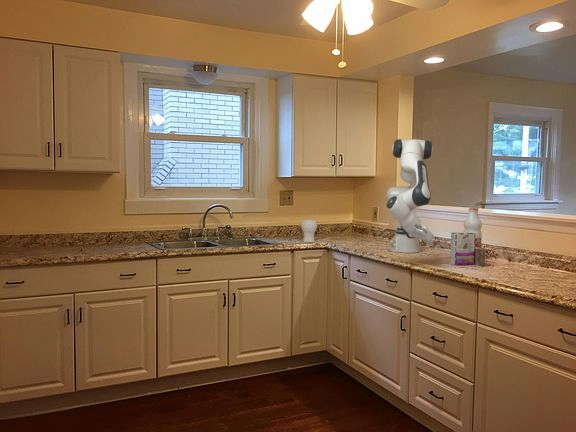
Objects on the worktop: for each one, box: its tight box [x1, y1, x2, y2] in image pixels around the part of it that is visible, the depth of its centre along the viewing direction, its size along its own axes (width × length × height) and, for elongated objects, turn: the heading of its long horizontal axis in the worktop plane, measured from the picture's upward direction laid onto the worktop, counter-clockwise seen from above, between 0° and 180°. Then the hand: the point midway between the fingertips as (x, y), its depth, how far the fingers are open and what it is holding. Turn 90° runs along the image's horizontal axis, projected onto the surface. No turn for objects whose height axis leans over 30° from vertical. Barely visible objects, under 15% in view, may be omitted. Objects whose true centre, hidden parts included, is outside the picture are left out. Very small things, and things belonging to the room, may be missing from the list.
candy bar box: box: [450, 231, 476, 266], centre depth 247 cm, size 11×5×16 cm, turn 103°
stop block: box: [474, 246, 486, 268], centre depth 250 cm, size 18×2×9 cm, turn 13°
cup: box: [300, 219, 318, 243], centre depth 331 cm, size 11×11×15 cm
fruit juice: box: [463, 207, 483, 248], centre depth 264 cm, size 9×9×28 cm
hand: (428, 242), depth 244 cm, fingers closed
